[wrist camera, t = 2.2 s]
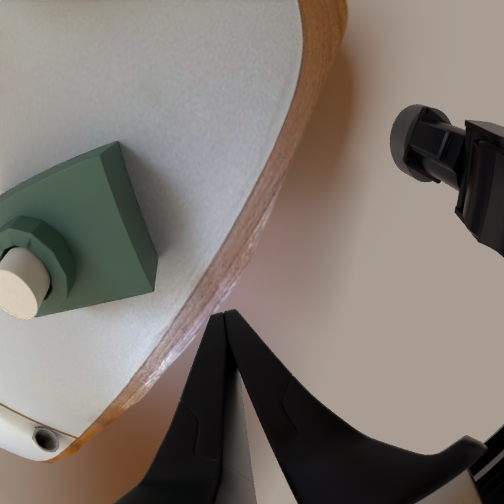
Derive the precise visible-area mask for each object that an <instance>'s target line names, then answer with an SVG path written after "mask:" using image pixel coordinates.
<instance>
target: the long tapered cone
mask: <svg viewBox="0 0 504 504" xmlns="http://www.w3.org/2000/svg"><path fill="white" fill-rule="evenodd" d="M32 441H33V442H34V444H35V445H36V446H38V447H39V448H40V449H42V450H44V451H46V452H55V451H56V450H57V449H58V447H59V440H58V438H57V436H56V435H55V434H54V433H53V432H52V431H51V430H49V429H46V428H36V427H35V430H34V433H33V437H32Z"/></svg>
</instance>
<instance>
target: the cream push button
mask: <svg viewBox="0 0 504 504" xmlns="http://www.w3.org/2000/svg"><path fill="white" fill-rule="evenodd" d="M49 287H50V275H49V272H48V270H47V268H46V266H45V264H44V262H43V261H42V260H41V259H40V258H39V257H38V256H36V255H35V254H34V253H33V252H32V251H30V250H29V249H26V248H23V247H15V248H12V249H11V250H9V251H8V253H7V254H6V255H5V257H4V258H3V259H2V261H1V262H0V306H1V307H2V308H3V309H4V310H5V311H6V312H7V313H9V314H10V315H12V316H14V317H16V318H19V319H24V320H27V319H31V318H33V317H34V316H36V314H37V312H38V310H39V308H40V306H41V303H42V301H43V299H44V297H45V295H46V293H47V291H48V289H49Z"/></svg>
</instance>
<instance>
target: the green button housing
mask: <svg viewBox="0 0 504 504" xmlns="http://www.w3.org/2000/svg"><path fill="white" fill-rule="evenodd" d="M15 247H23V248H26V249H29V250H30V251H32V252H33V253H34V254H35V255H36V256H38V257H39V258H40V259H41V260H42V261H43V262H44V264H45V266H46V268H47V270H48V272H49V275H50V287H49V289H48V291H47V293H46V295H45V297H44V299H43V301H42V303H41V306H40V308H39V310H38V312H37V314H36V316H34V317H40V316H45V315H49V314H54V313H59V312H64V311H68V310H73V309H78V308H82V307H87V306H92V305H96V304H101V303H105V302H110V301H115V300H119V299H123V298H128V297H132V296H137V295H141V294H146V293H150V292H154V288H155V279H156V272H157V264H158V256H157V254H156V251H155V249H154V246H153V244H152V241H151V238H150V236H149V233H148V230H147V228H146V225H145V222H144V220H143V217H142V214H141V211H140V209H139V206H138V203H137V200H136V197H135V194H134V191H133V188H132V185H131V182H130V179H129V176H128V173H127V170H126V166H125V163H124V160H123V157H122V153H121V150H120V147H119V143H118V141H116V142H113V143H110V144H107V145H105V146H102V147H99V148H97V149H94V150H92V151H89V152H87V153H84V154H82V155H79V156H77V157H75V158H72V159H70V160H68V161H65V162H63V163H61V164H59V165H57V166H55V167H52V168H50V169H48V170H46V171H44V172H42V173H40V174H38V175H36V176H34V177H32V178H30V179H28V180H26V181H25V182H23V183H21V184H19V185H17V186H15V187H14V188H12V189H10V190H8V191H7V192H5V193H3V194H2V195H0V262H1V261H2V259H3V258H4V257H5V255H6V254H7V253H8V251H9V250H11V249H12V248H15Z"/></svg>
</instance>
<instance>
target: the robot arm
mask: <svg viewBox="0 0 504 504" xmlns="http://www.w3.org/2000/svg"><path fill="white" fill-rule="evenodd" d="M425 111H426V112H425ZM465 126H466V130H464V129H461V128H458V127H455V126H452V125H450V124H448V123H447V122H446V121H445V120H443V119H442V118H441V117H440V116H439V115H437V114H436V113H435V112H434V111H433V110H431V109H430V108H429V107H426V106H423V107H422V108H421V111H420V114H419V117H418V120H417V122H416V125H415V128H414V131H413V133H412V136H411V139H410V141H409V144H408V146H407V149H406V151H405V154H404V156H403V159H402V162H403V164H405V165H406V166H408V167H410V168H412V169H414V170H415V171H417V172H419V173H421V174H422V175H424V176H426V177H427V178H429V179H431V180H432V181H434V182H436V183H440V182H441V181H443V182H444V183H446V184H448V185H449V186H451V187H453V188H454V189H456V190H458V191H459V196H458V201H457V206H456V207H455V213H456V215H457V216H458V217H459V218H460V219H461V221H462V222H463V223H464V224H465V226H466V227H467V229H468V230H469V231H470V232H471V233H472V235H473V236H474V237H475V238H476V239H477V241H478V242H479V243H482V244H484V245H486V246H488V247H490V248H492V249H494V250H495V251H497V252H498V253H499V254H501V255H502V256H503V257H504V127H502V126H499V125H496V124H493V123H490V122H481V121H473V120H465ZM407 159H408V161H407ZM240 374H241V377H242V379H243V382H244V384H245V387H246V389H247V392H248V394H249V397H250V399H251V401H252V404H253V406H254V408H255V411H256V413H257V416H258V418H259V421H260V423H261V425H262V427H263V429H264V432H265V434H266V437H267V439H268V441H269V443H270V446H271V448H272V450H273V452H274V454H275V457H276V458H277V461H278V463H279V465H280V467H281V470H282V472H283V474H284V476H285V478H286V480H287V482H288V484H289V487H290V489H291V491H292V493H293V495H294V497H295V499H296V501H297V503H298V504H504V425H502V427H500V428H499V429H498V430H497V431H496V432H495V433H494V434H493V435H492V436H491V437H490V438H488V439H487V440H486V441H485V442H484V443H482V442H480V441H478V440H476V439H474V438H472V437H470V436H467V435H466V436H464V437H462V438H461V439H459V440H458V441H456V442H455V443H453V444H452V445H451V446H449V447H447V448H446V449H444V450H443V451H441V452H440V453H438V454H434V455H423V454H418V453H415V452H412V451H408V450H405V449H402V448H399V447H396V446H393V445H389V444H387V443H384V442H381V441H378V440H375V439H372V438H370V437H368V436H366V435H364V434H362V433H361V432H359V431H358V430H356V429H355V428H353V427H352V426H351V425H349V424H348V423H347V422H345V421H344V420H343V419H341V418H340V417H339V416H337V415H336V414H335V413H333V412H332V411H331V410H330V409H328V408H327V407H326V406H324V405H323V404H322V403H321V402H320V401H319V400H317V399H316V398H315V397H314V396H313V395H312V394H311V393H310V392H309V391H308V390H307V389H306V388H305V387H304V386H303V385H302V384H301V383H300V382H299V381H298V380H297V379H296V378H295V377H294V376H292V373H290V371H289V370H288V369H287V368H286V367H285V366H284V365H283V363H282V362H281V361H280V360H279V359H278V358H277V357H276V355H274V353H273V352H272V351H271V350H270V349H269V347H268V346H267V345H266V344H265V343H264V342H263V341H262V339H261V338H260V337H259V336H258V335H257V333H256V332H255V331H254V330H253V329H252V328H251V327H250V325H249V324H248V323H247V322H246V320H245V319H244V318H243V317H242V316H241V314H240V313H239V312H238V311H237V310H236V309H232V310H228V311H225V312H224V313H222V312H221V313H216V314H212V315H211V316H210V318H209V321H208V324H207V327H206V330H205V332H204V335H203V337H202V340H201V343H200V345H199V348H198V351H197V354H196V356H195V359H194V362H193V365H192V367H191V370H190V373H189V376H188V379H187V381H186V384H185V387H184V389H183V393H182V395H181V398H180V400H181V401H180V402H179V403H178V406H177V409H176V412H175V414H174V417H173V419H172V422H171V425H170V427H169V429H168V431H167V433H166V435H165V437H164V439H163V441H162V443H161V445H160V447H159V449H158V451H157V453H156V455H155V457H154V459H153V461H152V463H151V465H150V467H149V469H148V471H147V472H146V474H145V476H144V477H143V478H142V480H141V481H140V482H139V483H138V484H137V485H136V486H135V487H134V488H132V489H131V490H130V491H129V492H127V493H126V494H125V495H124V496H122V497H121V498H120V499H118V500H117V501H116V502H114V503H113V504H257V502H256V496H255V488H254V484H253V483H254V481H253V474H252V467H251V460H250V452H249V445H248V437H247V430H246V421H245V412H244V404H243V396H242V387H241V379H240Z"/></svg>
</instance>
